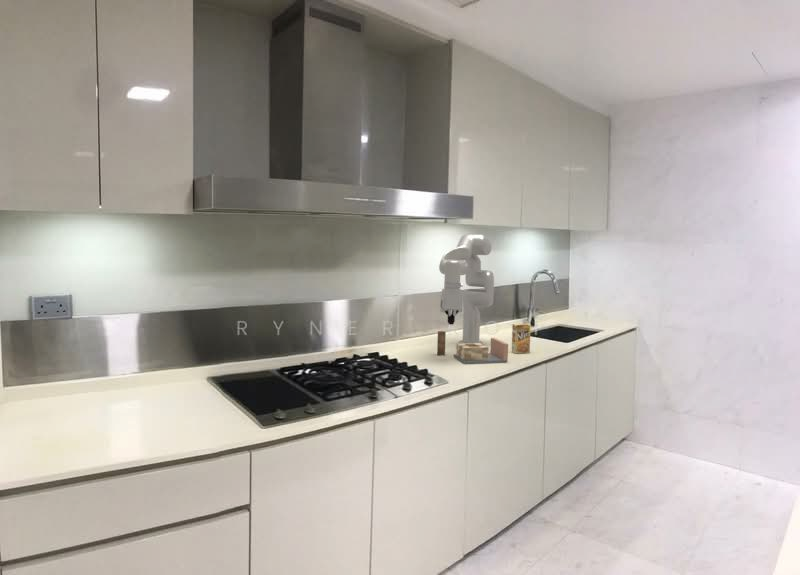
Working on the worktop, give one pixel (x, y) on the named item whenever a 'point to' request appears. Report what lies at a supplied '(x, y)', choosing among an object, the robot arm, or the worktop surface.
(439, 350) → the dowel
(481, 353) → the socket block
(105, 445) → the worktop surface
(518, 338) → the candy box
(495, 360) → the rail board
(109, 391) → the worktop surface
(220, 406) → the worktop surface
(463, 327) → the robot arm
